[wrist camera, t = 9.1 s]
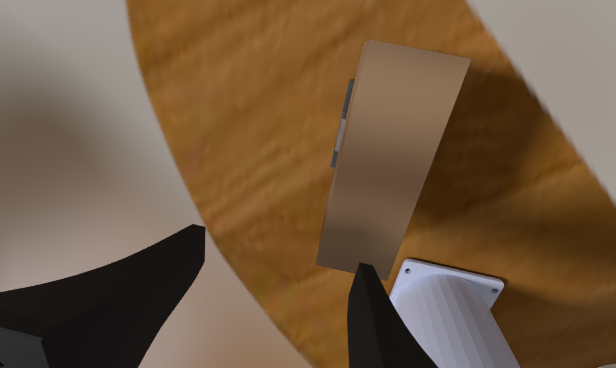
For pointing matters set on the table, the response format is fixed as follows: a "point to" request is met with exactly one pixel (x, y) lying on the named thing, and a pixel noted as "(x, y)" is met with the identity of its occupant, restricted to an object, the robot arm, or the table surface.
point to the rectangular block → (386, 152)
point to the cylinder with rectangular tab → (608, 366)
